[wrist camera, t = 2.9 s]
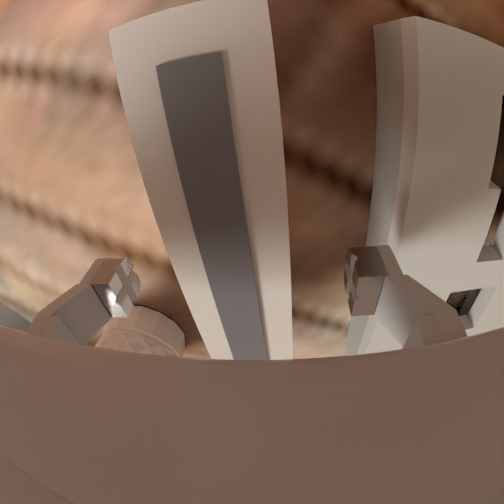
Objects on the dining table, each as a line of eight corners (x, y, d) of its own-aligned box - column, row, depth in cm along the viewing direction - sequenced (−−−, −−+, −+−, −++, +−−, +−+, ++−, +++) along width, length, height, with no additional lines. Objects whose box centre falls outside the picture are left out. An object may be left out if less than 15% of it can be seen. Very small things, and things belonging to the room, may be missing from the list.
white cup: (178, 300, 20) (140, 433, 12) (201, 356, 25) (182, 458, 17) (93, 296, 21) (44, 401, 13) (128, 349, 25) (100, 437, 18)
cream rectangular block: (176, 37, 9) (105, 30, 5) (268, 22, 9) (265, -10, 4) (231, 299, 19) (219, 377, 14) (290, 297, 19) (292, 378, 14)
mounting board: (372, 25, 8) (415, 15, 5) (537, 80, 7) (584, 100, 3) (345, 342, 22) (351, 387, 18) (461, 325, 20) (475, 362, 17)
